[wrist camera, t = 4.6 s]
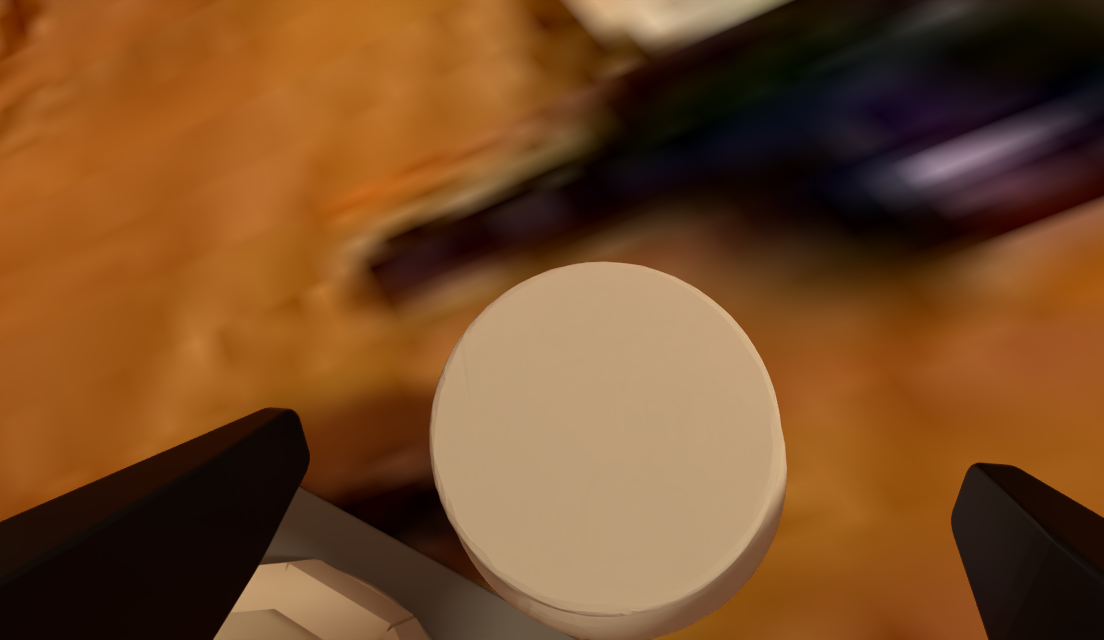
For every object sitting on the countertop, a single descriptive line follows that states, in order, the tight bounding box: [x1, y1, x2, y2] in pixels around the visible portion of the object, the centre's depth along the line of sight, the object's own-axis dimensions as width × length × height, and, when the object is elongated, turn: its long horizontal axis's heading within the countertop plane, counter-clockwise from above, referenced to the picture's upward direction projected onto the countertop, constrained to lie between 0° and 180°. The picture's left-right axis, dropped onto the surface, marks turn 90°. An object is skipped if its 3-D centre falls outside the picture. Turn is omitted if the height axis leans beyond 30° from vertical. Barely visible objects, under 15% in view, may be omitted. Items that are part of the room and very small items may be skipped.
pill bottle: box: [429, 262, 787, 640], centre depth 11 cm, size 5×5×10 cm
